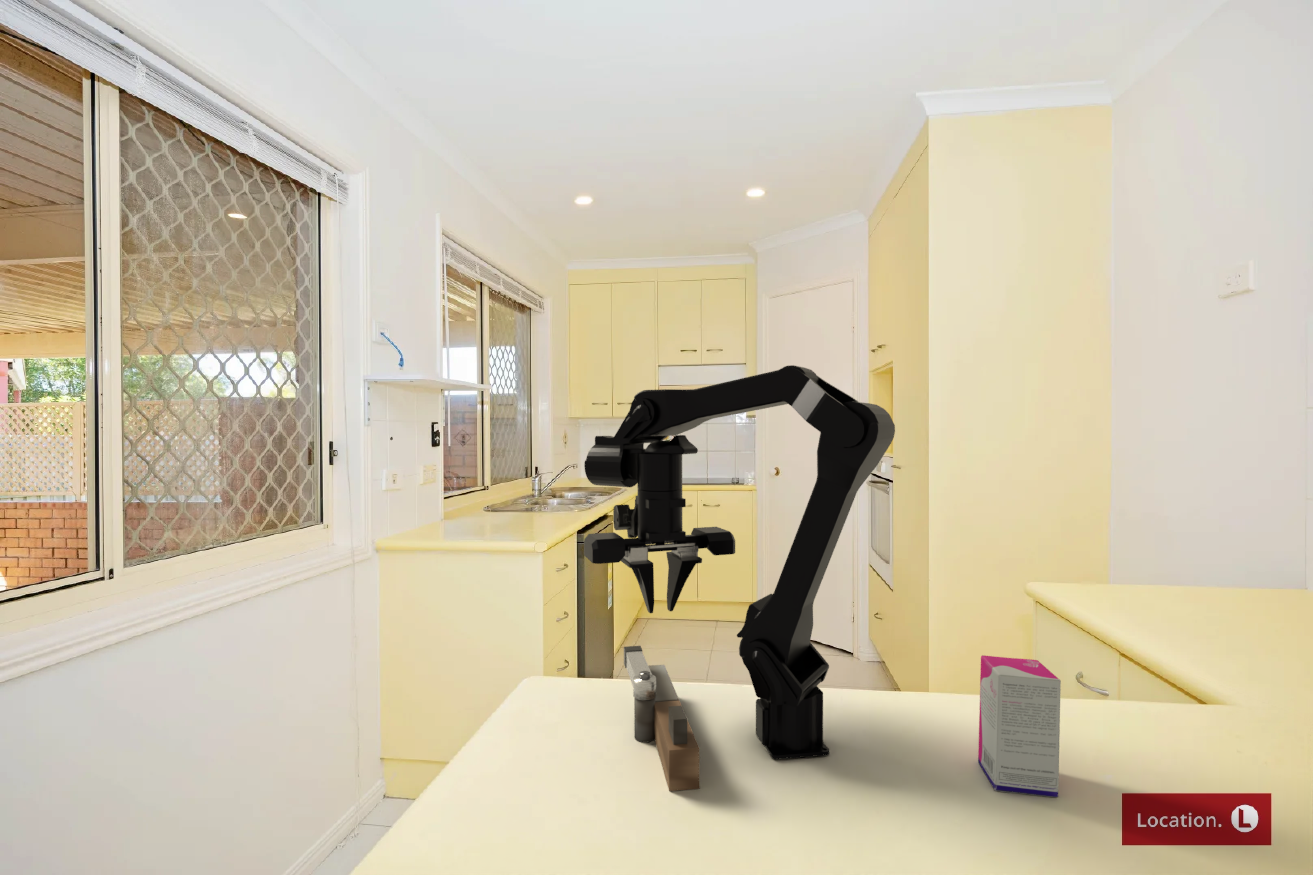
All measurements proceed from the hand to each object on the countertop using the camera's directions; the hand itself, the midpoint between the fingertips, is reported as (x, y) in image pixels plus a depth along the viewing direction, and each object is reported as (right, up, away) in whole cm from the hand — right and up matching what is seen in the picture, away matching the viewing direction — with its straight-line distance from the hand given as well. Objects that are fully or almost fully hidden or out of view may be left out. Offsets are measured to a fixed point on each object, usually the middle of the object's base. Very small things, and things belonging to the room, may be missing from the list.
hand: (660, 611), depth 80 cm
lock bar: (-3, -7, -4) cm, 9 cm away
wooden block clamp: (0, -12, -8) cm, 15 cm away
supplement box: (+36, -12, -17) cm, 42 cm away
